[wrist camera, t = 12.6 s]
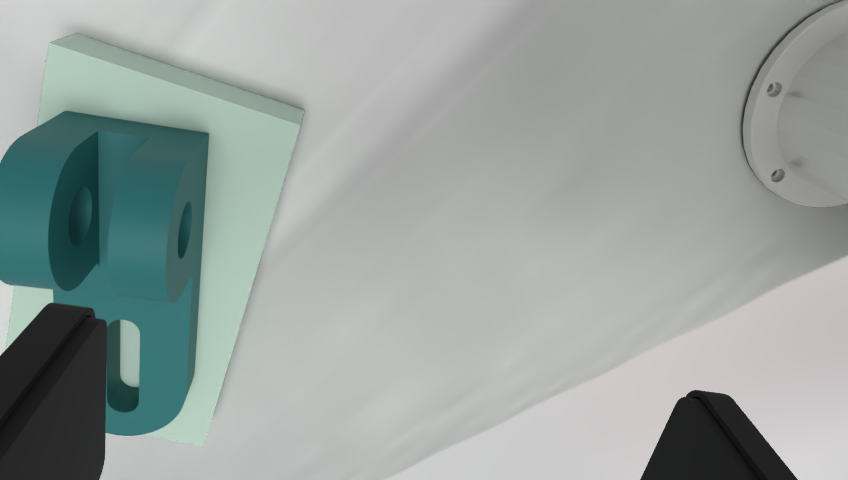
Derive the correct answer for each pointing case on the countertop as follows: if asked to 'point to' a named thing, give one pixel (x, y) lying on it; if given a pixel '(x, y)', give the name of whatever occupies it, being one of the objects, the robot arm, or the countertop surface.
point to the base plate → (224, 200)
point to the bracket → (114, 244)
